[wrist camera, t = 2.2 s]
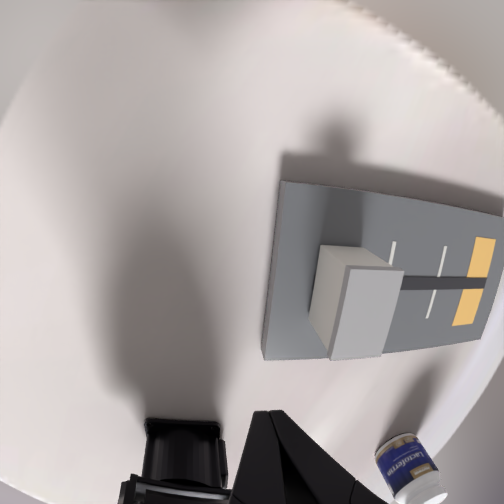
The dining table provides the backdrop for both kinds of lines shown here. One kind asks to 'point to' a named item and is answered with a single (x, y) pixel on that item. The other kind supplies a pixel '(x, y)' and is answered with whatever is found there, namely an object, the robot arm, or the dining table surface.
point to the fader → (353, 301)
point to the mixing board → (391, 251)
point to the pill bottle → (410, 471)
